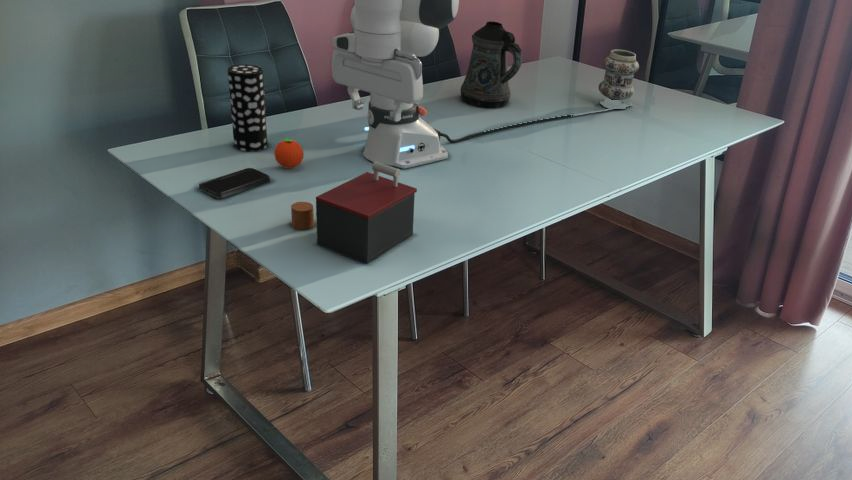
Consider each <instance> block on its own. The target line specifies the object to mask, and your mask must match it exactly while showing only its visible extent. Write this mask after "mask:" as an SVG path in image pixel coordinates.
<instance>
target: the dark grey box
mask: <svg viewBox="0 0 852 480" xmlns="http://www.w3.org/2000/svg"><path fill="white" fill-rule="evenodd" d="M415 194H416V192H415V193H414V194H412V195H410V196H408V197H407V198H405V199H403V200H401V201H400V202H398V203H396V204H394V205H393V206H391V207H389V208H387V209H385V210H384V211H382V212H380V213H378V214H377V215H375V216H373V217H371V218H370V219H366V218H363V217H360V216H357V215H355V214H352V213H349V212H346V211H344V210H341V209H338V208H336V207H333V206H330V205H327V204H325V203H322V202H319V201H316V200H315V215H316V216H315V218H316V219H315V220H316V245H318V246H320V247H323V248H325V249H328V250H331V251H333V252H336V253H338V254H341V255H343V256H346V257H349V258H350V259H353V260H355V261H359V262H361V263H364V264H367V265H368V264H370V263H372V262H373V261H375V260H376V259H378V258H379V257H381V256H383V255H384V254H385V253H388V252H389V251H391V250H392V249H393V248H395V247H396V246H398V245H399V244H401V243H403V242H405V241H406V240H407V239H409V238H411V237H412V236H413V235H414V216H415Z"/></svg>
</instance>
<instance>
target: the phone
mask: <svg viewBox="0 0 852 480" xmlns="http://www.w3.org/2000/svg"><path fill="white" fill-rule="evenodd" d="M268 183H271V176H270V175H269V174H267V173H264V172H262V171H260V170H258V169H256V168H253V167H246V168H243V169H240V170H237V171H234V172H230V173H228V174H225V175H224V174H223V175H221V176H218V177H215V178H212V179H208V180H206V181H202V182H200V183H198V189H199V191H201V192H203V193H204V194H207V195H208V196H211V197H213V198H215V199H219V200H221V199H224V198H229V197H231V196H234V195H236V194H239V193H242V192H245V191H248V190H251V189H254V188H257V187H260V186H262V185H266V184H268Z"/></svg>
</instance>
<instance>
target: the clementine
mask: <svg viewBox="0 0 852 480" xmlns="http://www.w3.org/2000/svg"><path fill="white" fill-rule="evenodd" d="M274 159H275V161H276V163H277V164H278V165H279V166H281V167H282V168H285V169H294V168H297V167H298V166H299V165H300V164H301V163H302V162H303V160H304V149H303V148H302V146H301V144H300V143H298V142H297V141H295V140H293V139H291V138H284V140H282V141H279V142H278V144H276V147H275V149H274Z"/></svg>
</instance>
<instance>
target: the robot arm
mask: <svg viewBox="0 0 852 480" xmlns="http://www.w3.org/2000/svg"><path fill="white" fill-rule="evenodd" d="M353 3H354V5H353V7H352V9H351V12H350V25H351V28H352V29H353V31H349V32H347V33H343V34H339V35H336V36H335V35H334V37H333V38H332V46H333V47H334V50H333V51H332V55H331V77H332V79H333V81H334V82H335V83H336V84H339V85H342V86H343V85H344V86H345V87H347V93H348V96H349V97H350V99H351V101H352V105H351V106H352V109H353V110H357V111H361V110H364V100H363V99H361V96H360V93H359V91H363V92H366V93H369V102H368V108H367V122H368V123H367V124H368V126H366V127H364V131H367V136H366V137H367V138H366V142H365V146H364V148H363V152H362V154H363V157H364V158H365V159H367V160H368V161H370V162H372V163H374V162H378V163H381V164H384V165H387V166H390V167H394V168H398V169H399V168H400V169H410V168H414V167H419V166H422V165H426V164H431V163H434V162H438V161H443V160H448V157H449V155H448V154H449V153H448V150H447V149H446V148H445V147H444V145H442V144H441V137H443V138H445V139H446V140H447V142H448V143H450V144H456V143H461V142H463V141H465V140H468V139H472V138H475V137H479V136H480V137H481V136H483V135H487V134H492V133H495V132H500V131H504V130H509V129H513V128H517V127H522V126H523V127H524V126H528V125H533V124H538V123H543V122H549V121H555V120H561V119H562V120H563V119H568V118H572V117H571V115H569V114H566V115H567V116H563V115H560V116H561V117H557V116H554V117H555V118H550V117H548V118H549V119H544V118H542V119H543V120H539V119H536V120H537V121H533V120H531V121H532V122H528V121H526V122H527V123H523V122H521V123H522V124H518V123H516V124H517V125H513V124H511V125H512V126H508V125H506V126H507V127H504V126H502V127H503V128H499V127H498V128H499V129H495V128H493V129H494V130H491V129H488V130H490V131H488V130H487V129H486V130H483V131H479V132H475V133H472V134H471V133H470V134H467V135H465V136H463V137H460V138H456V139H452V138H450V136H449V135H448V134H447V133H444V132H441V131H440V130H438V129H436V128H434V127H432V126H431V125H430V124H428V122H426V121H425V120H424V119H422V118H421V117H425V116H426V115H427V114H428V112H427V109H426V108H425V107H423V106H420V105H418V104H417V103H419V102H420V101H421V100H422V99H423V98H424V97H423V96H424V84H423V83H424V82H423V81H424V80H423V64H422V61H421V60H420V59H419V57H421V58H422V57H426V56H429V55H430V54H432V52H433V51H434V50H435V48H436V47H437V44H438V42H439V38H440V30H441V29H443V28H445V27H446V26H448V25H450V24H451V23H452V22H454V20H455V19H456V17H457V14H458V11H459V8H460V7H459V6H460V0H354V2H353ZM420 116H421V117H420ZM572 116H573V115H572ZM484 131H486V132H484Z"/></svg>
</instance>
